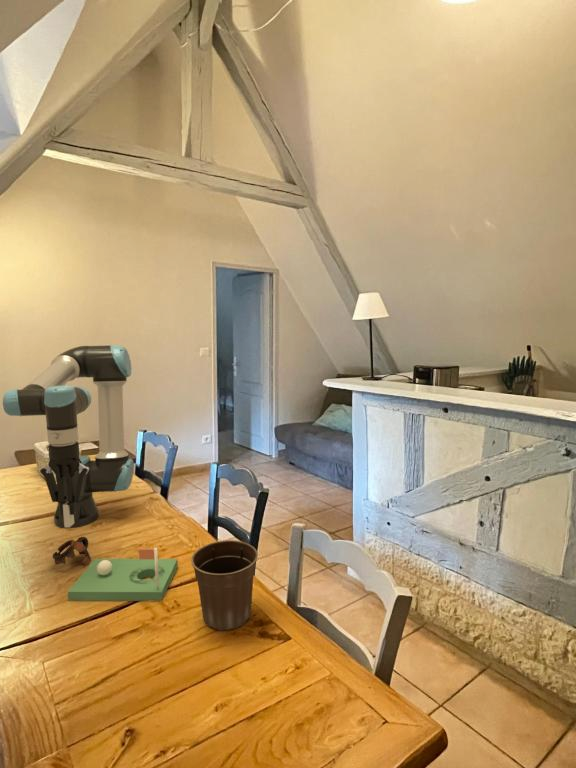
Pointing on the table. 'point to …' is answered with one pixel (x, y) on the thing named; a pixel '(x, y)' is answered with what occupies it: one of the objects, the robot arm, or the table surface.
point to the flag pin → (151, 555)
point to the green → (124, 581)
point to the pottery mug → (78, 545)
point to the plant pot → (225, 582)
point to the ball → (104, 567)
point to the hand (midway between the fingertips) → (69, 525)
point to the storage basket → (44, 455)
